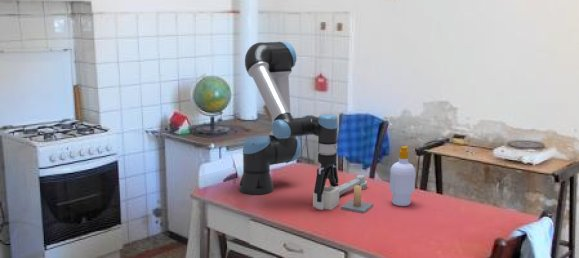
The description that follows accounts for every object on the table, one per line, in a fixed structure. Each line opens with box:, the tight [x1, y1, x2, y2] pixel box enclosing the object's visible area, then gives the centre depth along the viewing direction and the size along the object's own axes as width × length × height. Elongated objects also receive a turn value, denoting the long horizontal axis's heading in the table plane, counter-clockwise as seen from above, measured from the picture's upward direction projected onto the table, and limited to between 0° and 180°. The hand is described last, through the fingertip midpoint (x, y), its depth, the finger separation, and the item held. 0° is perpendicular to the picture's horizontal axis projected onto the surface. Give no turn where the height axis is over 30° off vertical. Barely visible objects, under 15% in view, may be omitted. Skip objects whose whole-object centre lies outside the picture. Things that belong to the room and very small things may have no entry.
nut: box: [312, 185, 340, 211], centre depth 243 cm, size 8×8×7 cm
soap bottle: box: [389, 145, 416, 207], centre depth 245 cm, size 10×10×24 cm
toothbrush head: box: [336, 174, 368, 197], centre depth 261 cm, size 5×7×25 cm
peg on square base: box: [340, 185, 374, 214], centre depth 241 cm, size 10×10×9 cm
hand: (326, 205), depth 244 cm, fingers open, 11 cm apart
